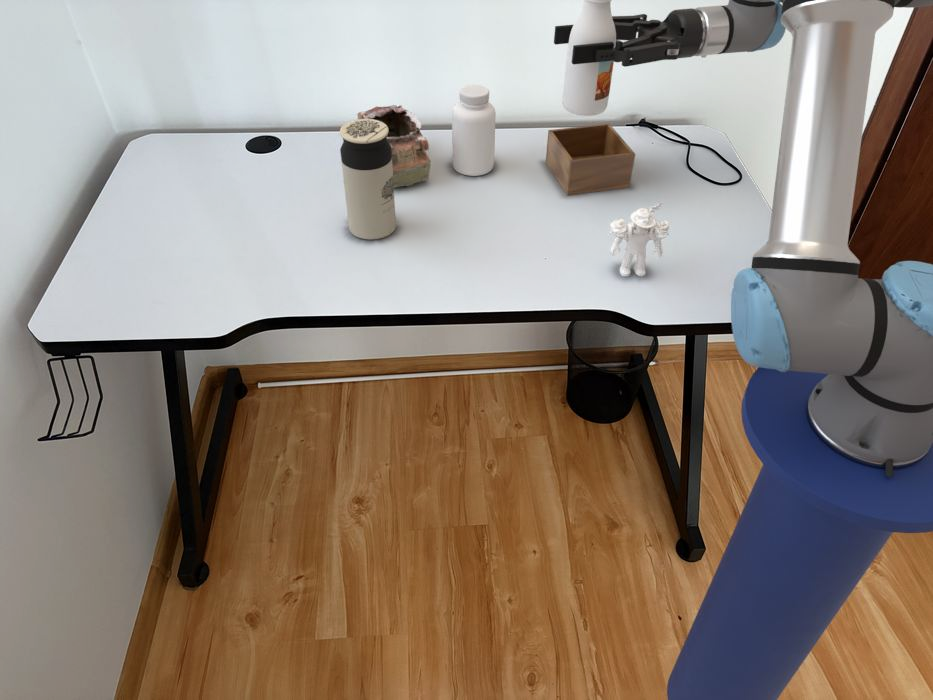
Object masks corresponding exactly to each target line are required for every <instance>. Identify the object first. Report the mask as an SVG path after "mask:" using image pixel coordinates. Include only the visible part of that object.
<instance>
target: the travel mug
mask: <svg viewBox="0 0 933 700" xmlns="http://www.w3.org/2000/svg"><path fill="white" fill-rule="evenodd" d="M388 132H389V129H388V127H387V125H386V124H384V123H383V122H381V121H378V120H374V119H358V118H357V119H354V120H350V121H348V122H345V123H344V124H343V125H341V127H340V130H339V135H340V137H341V138H342V140H343V142H342V144H341V146H340V149H339V152H340V160H341V161H340V162H341V169H342V178H343V187H344V195H345V205H346V213H347V224H348V230H349V232H350V233H351V235H353V236H355V237H357V238H360V239H363V240H379V239H383V238H386V237H388V236H390V235H391V234H392V233H394V231H395V230H396V227H397V220H396V219H397V218H396V201H395V188H394V184H393V168H392V151H391V145H390V144H389V142H388V141H387V134H388Z"/></svg>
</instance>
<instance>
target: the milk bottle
mask: <svg viewBox="0 0 933 700" xmlns="http://www.w3.org/2000/svg"><path fill="white" fill-rule="evenodd" d="M611 2H612V0H583V4H582V7H581V9H580V12H579V14H578V16H577V17H576V19H575V21H574V23H573V24H572V25H573V27H572V30H571V33H570V37H569V43H567V53H566V60H565V70H564V80H563V90H562V99H561V100H562V101H561V102H562V103H561V104H562V107H563V109H565V111H567V112H568V113H570V114H573V115H576V116H583V117H591V116H593V117H594V116H598V115H600V114H602V113H604V112H605V110H606V109H607V108H608V105H609V97H610V91H611V84H612V78H613V71H614V63H615V62H614V61H613V60H612V61H604V62H594V63H584V64H574V65H573V64H572V54H573V45H584V44H594V43H605V42H613V43H614V48H615V45H616V30H615V25H614V22H613V18H612V16H613V15H612V8H611Z"/></svg>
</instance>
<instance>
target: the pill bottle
mask: <svg viewBox="0 0 933 700" xmlns="http://www.w3.org/2000/svg"><path fill="white" fill-rule="evenodd" d="M458 94H459V97H458V102H457V103H456V104H455V105H454V106H453V108H452V110H451V139H452V141H451V143H452V148H451V150H452V154H451V155H452V157H451V158H452V166H453V169H454V171H456V172H457V173H458V174H461V175H463V176H469V177H476V176H478V177H479V176H483V175H487V174H488V173H490V172H491V171H492V170H493V169H494V166H495V148H496V117H497V116H496V115H497V114H496V112H497V111H496V108H495V106H494V105H493V104H492V103H491V102H490V101H489V100H490V90H489V89H488V88H487V87H486V86H483V85H479V84H469V85H465V86H463V87H461V88H460V89H459V93H458Z"/></svg>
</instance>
